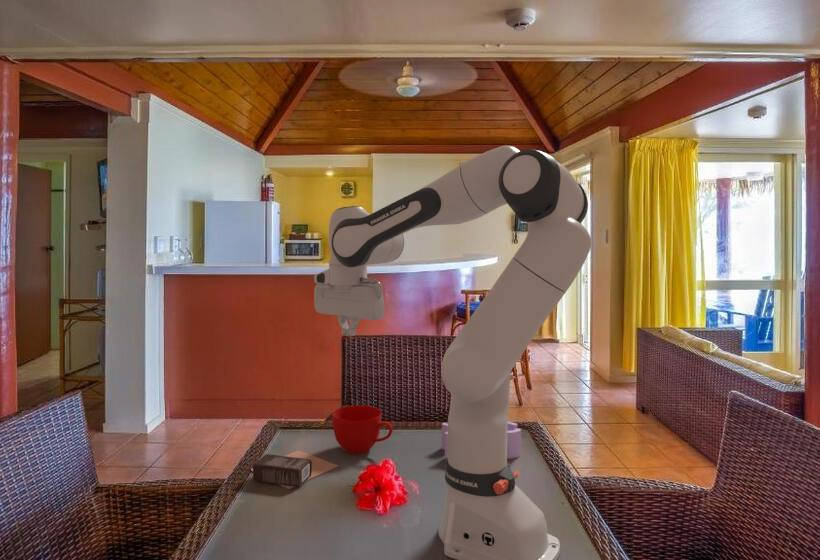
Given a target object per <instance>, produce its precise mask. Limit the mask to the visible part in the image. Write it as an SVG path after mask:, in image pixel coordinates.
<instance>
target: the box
mask: <svg viewBox="0 0 820 560" xmlns="http://www.w3.org/2000/svg"><path fill="white" fill-rule="evenodd" d="M252 468H253V472H252V476H253V477H252V479H253V482H261V483H268V484H276V485H279V484H282V485H289V486H295V487H298V488H300V487H301V486H302V485H304V484H305V483H306V482H307V481H306V480H307V479H308V478H309V477H311V471H312V462H311V459H303V458H295V457H287V456H285V455H278V454H277V455H276V454H269V453H265V454H264V455H263V456H261V457H260V458H258V459H257V461H255V462H254V463H253V464H252ZM305 481H306V482H305Z"/></svg>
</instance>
